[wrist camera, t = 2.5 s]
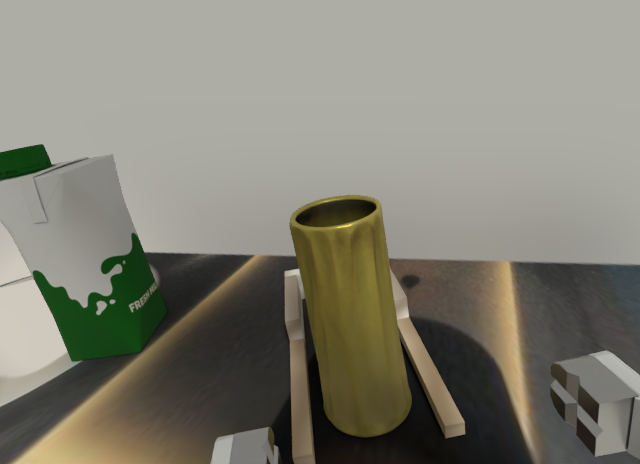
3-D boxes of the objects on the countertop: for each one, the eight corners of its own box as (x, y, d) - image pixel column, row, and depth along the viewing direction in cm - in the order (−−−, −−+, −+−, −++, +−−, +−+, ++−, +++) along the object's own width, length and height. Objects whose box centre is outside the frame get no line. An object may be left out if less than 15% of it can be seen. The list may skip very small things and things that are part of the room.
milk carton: (105, 316, 45) (27, 145, 37) (180, 305, 44) (115, 129, 37) (57, 370, 37) (-56, 165, 29) (146, 358, 36) (54, 144, 29)
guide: (295, 469, 23) (285, 433, 22) (290, 295, 42) (284, 271, 41) (465, 434, 23) (463, 396, 22) (384, 276, 42) (381, 252, 41)
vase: (351, 360, 31) (320, 191, 26) (425, 384, 27) (407, 193, 22) (307, 418, 26) (258, 227, 21) (389, 454, 23) (355, 237, 18)
